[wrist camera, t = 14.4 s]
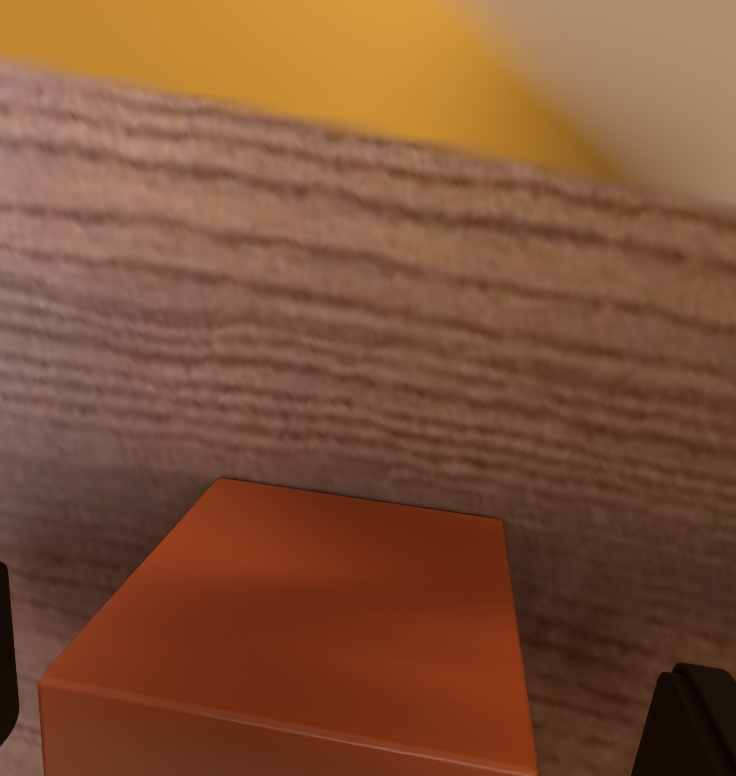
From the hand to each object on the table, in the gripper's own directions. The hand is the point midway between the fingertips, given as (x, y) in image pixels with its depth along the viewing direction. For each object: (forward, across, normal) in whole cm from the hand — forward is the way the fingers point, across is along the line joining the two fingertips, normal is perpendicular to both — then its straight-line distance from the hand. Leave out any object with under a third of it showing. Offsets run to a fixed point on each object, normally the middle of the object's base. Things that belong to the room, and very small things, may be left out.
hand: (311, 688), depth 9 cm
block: (+2, 0, 0) cm, 2 cm away
